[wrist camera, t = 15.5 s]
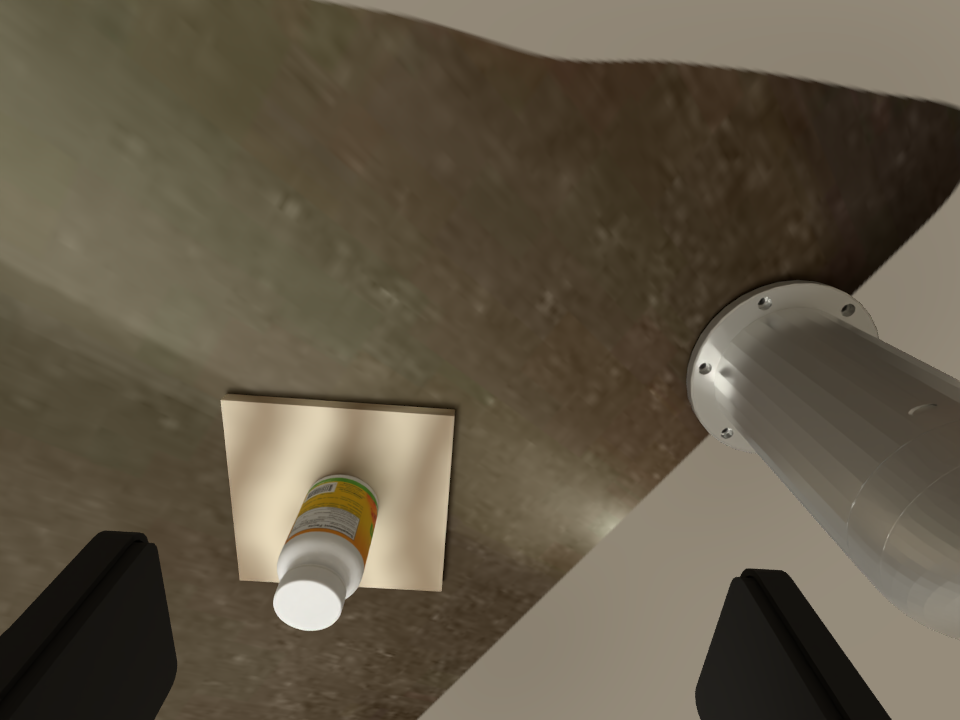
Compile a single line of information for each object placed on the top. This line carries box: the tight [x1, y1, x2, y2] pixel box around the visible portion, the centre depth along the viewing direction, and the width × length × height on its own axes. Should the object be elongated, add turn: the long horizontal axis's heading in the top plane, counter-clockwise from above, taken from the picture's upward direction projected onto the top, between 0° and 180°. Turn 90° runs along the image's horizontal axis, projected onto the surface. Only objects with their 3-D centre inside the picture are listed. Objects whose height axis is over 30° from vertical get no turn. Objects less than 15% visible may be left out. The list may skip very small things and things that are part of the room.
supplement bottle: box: [273, 475, 379, 631], centre depth 37 cm, size 5×5×10 cm
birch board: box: [221, 394, 455, 591], centre depth 42 cm, size 16×16×1 cm
